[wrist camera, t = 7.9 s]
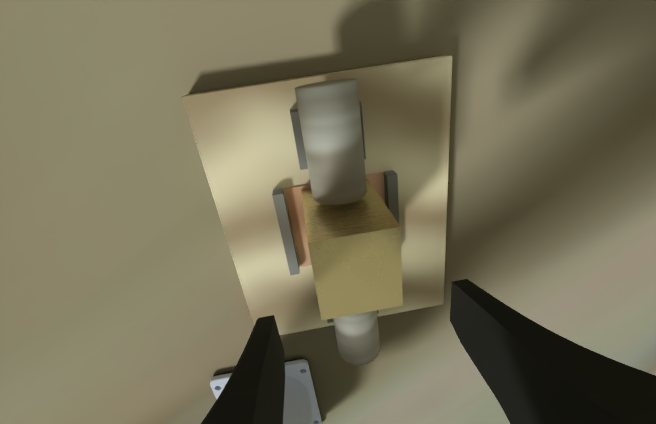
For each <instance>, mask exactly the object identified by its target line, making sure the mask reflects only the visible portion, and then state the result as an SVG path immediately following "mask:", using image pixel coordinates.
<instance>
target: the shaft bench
mask: <svg viewBox="0 0 656 424" xmlns="http://www.w3.org/2000/svg"><path fill="white" fill-rule="evenodd" d="M451 81H452V56H438V57H431V58H424V59H418V60H411V61H405V62H398V63H391V64H385V65H378V66H372V67H365V68H358V69H352V70H345V71H339V72H332V73H325V74H319V75H312V76H306V77H299V78H292V79H286V80H279V81H273V82H266V83H259V84H253V85H246V86H240V87H233V88H226V89H220V90H213V91H207V92H200V93H193V94H187V95H185V96H182V101H183V104H184V107H185V110H186V113H187V116H188V119H189V123H190V126H191V129H192V132H193V135H194V138H195V141H196V145H197V148H198V151H199V154H200V157H201V160H202V163H203V167H204V170H205V173H206V176H207V179H208V182H209V185H210V189H211V192H212V195H213V198H214V201H215V204H216V207H217V210H218V214H219V217H220V220H221V223H222V226H223V229H224V232H225V236H226V239H227V242H228V245H229V248H230V251H231V254H232V258H233V261H234V264H235V267H236V270H237V273H238V276H239V280H240V283H241V286H242V289H243V292H244V295H245V298H246V302H247V305H248V308H249V311H250V314H251V317H252V320H253V324H254V326H255V323H256V320H257V319H258V318H261V317H266V316H271V315H274V317H275V320H276V324H277V328H278V331H279V335H285V334H290V333H295V332H301V331H306V330H311V329H316V328H322V327H327V326H332V325H334V327H335V333H336V339H337V345H338V351H339V354H340V356H341V357H342V358H343V359H344V360H345V361H346V362H348V363H350V364H354V365H364V364H367V363H370V362H372V361H373V360H374V359H375V358H376V357H377V356H378V354H379V352H380V340H379V328H378V317H379V316H384V315H390V314H395V313H400V312H405V311H411V310H416V309H421V308H426V307H432V306H437V305H442V304H443V302H444V275H445V247H446V219H447V192H448V164H449V136H450V109H451ZM366 179H368V180H369V181H370V183H371V184H372V185H373V187H374V188H375V190H376V191H377V193H378V194H379V196H380V197H381V199H382V200H383V202H384V203H385V205H386V206H387V207H388V209H389V210H390V212H391V213H392V215H393V216H394V218H395V219H396V221H397V222H398V224H399V225H400V227H401V257H402V295H403V306H397V307H392V308H386V309H381V310H376V311H370V312H365V313H359V314H354V315H348V316H343V317H337V318H332V319H326V320H321V315H320V309H319V304H318V298H317V292H316V287H315V281H314V275H313V270H312V264H311V259H310V253H309V247H308V241H307V233H306V225H305V217H304V209H303V200H302V192H301V190H303V189H309V188H311V190H312V196H313V199H314V200H315V201H316V202H318V203H321V204H325V205H341V204H347V203H351V202H354V201H357V200H359V199H361V198H362V197H363V196H365V194H366V193H367V186H366Z"/></svg>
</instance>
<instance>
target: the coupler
mask: <svg viewBox="0 0 656 424" xmlns="http://www.w3.org/2000/svg"><path fill="white" fill-rule="evenodd" d="M366 186H367V193H366V194H365V196H363V197H362V198H361V199H359V200H357V201H354V202H351V203H347V204H341V205H325V204H321V203H318V202H316V201H315V200H314V199H313V196H312V190H311V188H309V189H303V190H301V192H302V200H303V209H304V217H305V225H306V233H307V241H308V247H309V253H310V259H311V264H312V270H313V275H314V281H315V287H316V292H317V298H318V304H319V309H320V315H321V320H326V319H332V318H337V317H343V316H348V315H354V314H359V313H365V312H370V311H376V310H381V309H386V308H392V307H397V306H403V295H402V257H401V227H400V225H399V224H398V222H397V221H396V219H395V218H394V216H393V215H392V213H391V212H390V210H389V209H388V207H387V206H386V205H385V203H384V202H383V200H382V199H381V197H380V196H379V194H378V193H377V191H376V190H375V188H374V187H373V185H372V184H371V183H370V181H369V180H368V179H366Z"/></svg>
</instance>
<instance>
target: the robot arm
mask: <svg viewBox="0 0 656 424" xmlns="http://www.w3.org/2000/svg"><path fill="white" fill-rule="evenodd" d="M450 321H451V323H452V325H453V327H454V329H455V332H456V334H457V336H458V338H459V340H460V342H461V344H462V345H463V347H464V348H465V350H466V352H467V353H468V355H469V356H470V358H471V359H472V361H473V363H474V364H475V366H476V367H477V369H478V370H479V372H480V373H481V375H482V376H483V378H484V380H485V381H486V383H487V384H488V386H489V387H490V389H491V390H492V392H493V393H494V395H495V397H496V398H497V400H498V402H499V403H500V405H501V407H502V408H503V410H504V412H505V414H506V416H507V418H508V420H509V422H510V424H656V376H655V375H652V374H649V373H647V372H644V371H641V370H638V369H636V368H633V367H630V366H628V365H625V364H622V363H620V362H617V361H615V360H612V359H610V358H607V357H605V356H603V355H600V354H598V353H596V352H593V351H591V350H589V349H587V348H584V347H582V346H580V345H578V344H576V343H574V342H572V341H570V340H568V339H565V338H563V337H561V336H559V335H557V334H555V333H554V332H552V331H550V330H548V329H546V328H544V327H542V326H541V325H539V324H537V323H535V322H534V321H532V320H530V319H528V318H527V317H525V316H523V315H522V314H520V313H518V312H517V311H515V310H513V309H512V308H510V307H509V306H507V305H505V304H504V303H502V302H501V301H499V300H498V299H496V298H495V297H493V296H492V295H490V294H489V293H487V292H486V291H484V290H483V289H481V288H479V287H478V286H476V285H475V284H473V283H472V282H470V281H469V280H467V279H465V280H459V281H454V282H452V290H451V310H450ZM210 386H211V388H212V390H213V393H214V395H215V397H216V399H217V400H216V402H215V404H214V405H213V407H212V408H211V410H210V411H209V413H208V414H207V416H206V417H205V419H204V420H203V421H202V423H201V424H322V420H321V416H320V412H319V408H318V403H317V399H316V395H315V390H314V386H313V382H312V378H311V373H310V369H309V365H308V362H307V360H304V359H300V360H295V361H290V362H285V360H284V350H283V346H282V342H281V339H280V335H279V331H278V328H277V324H276V320H275V317H274V315H271V316H266V317H261V318H258V319H257V320H256V323H255V326H254V328H253V331H252V333H251V335H250V338H249V340H248V342H247V344H246V347H245V349H244V351H243V353H242V355H241V357H240V359H239V361H238V363H237V365H236V367H235V369H234V371H233V373H229V374H223V375H218V376H214V377H212V378H211V380H210Z"/></svg>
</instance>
